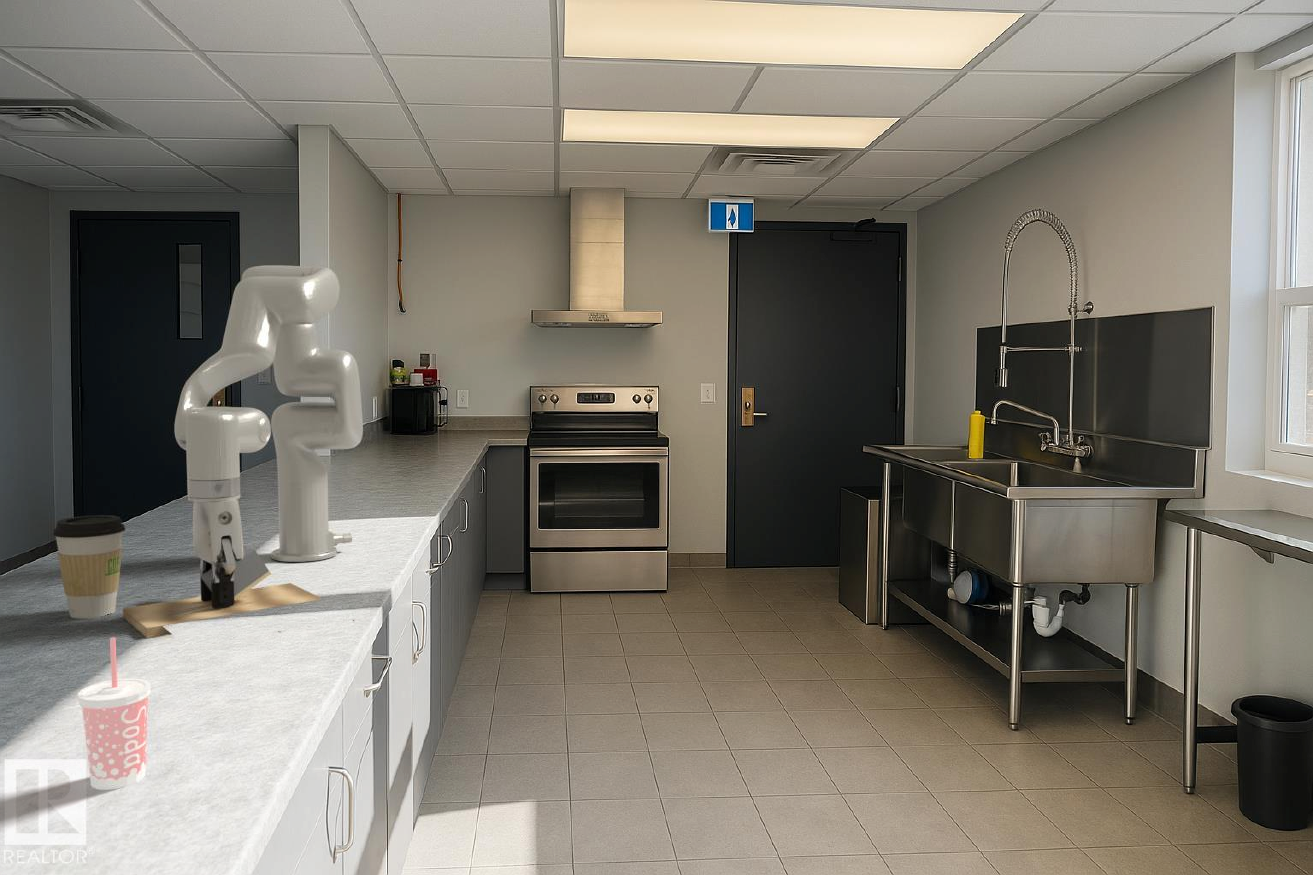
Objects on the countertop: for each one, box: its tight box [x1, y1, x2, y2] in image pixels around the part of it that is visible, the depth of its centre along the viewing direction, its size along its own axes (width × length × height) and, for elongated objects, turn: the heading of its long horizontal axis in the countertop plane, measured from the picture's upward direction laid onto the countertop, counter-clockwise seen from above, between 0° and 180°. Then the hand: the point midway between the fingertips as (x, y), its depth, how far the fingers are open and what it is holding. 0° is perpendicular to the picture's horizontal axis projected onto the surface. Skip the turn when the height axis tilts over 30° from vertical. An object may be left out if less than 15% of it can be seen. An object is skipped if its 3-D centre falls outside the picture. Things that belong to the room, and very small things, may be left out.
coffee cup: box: [52, 514, 126, 620], centre depth 148 cm, size 10×10×15 cm
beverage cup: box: [77, 636, 152, 791], centre depth 90 cm, size 6×6×14 cm
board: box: [122, 582, 323, 639], centre depth 150 cm, size 26×14×2 cm, turn 132°
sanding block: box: [199, 545, 272, 601], centre depth 150 cm, size 8×4×5 cm
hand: (217, 602), depth 149 cm, fingers closed on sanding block, 4 cm apart
